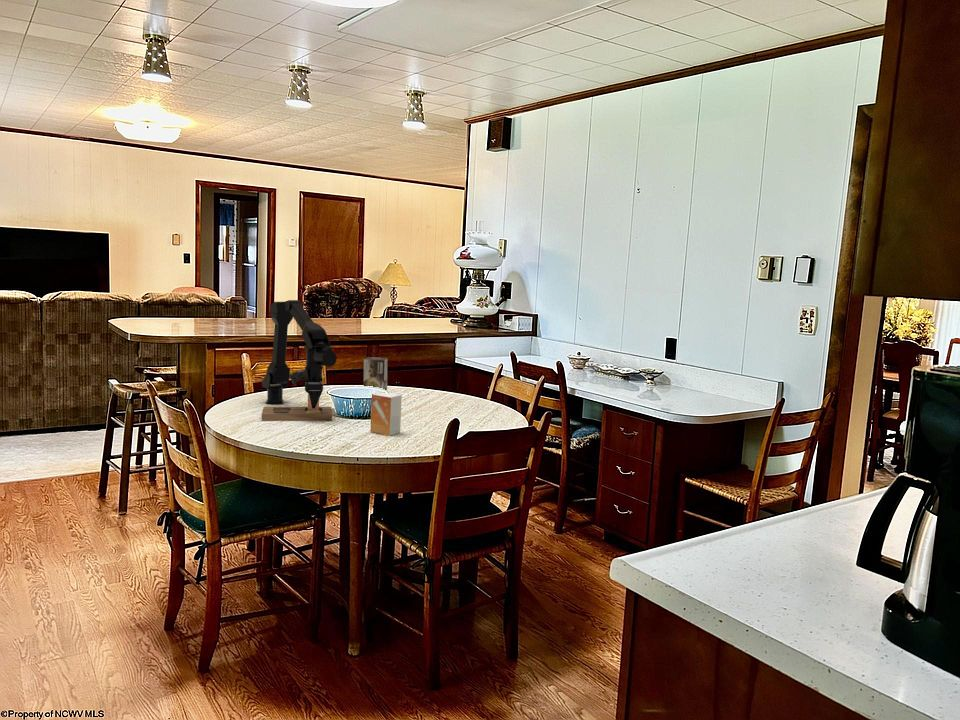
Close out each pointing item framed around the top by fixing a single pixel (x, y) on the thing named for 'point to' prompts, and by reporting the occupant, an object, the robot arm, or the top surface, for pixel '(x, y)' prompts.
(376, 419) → the small box
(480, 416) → the top surface
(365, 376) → the coffee box
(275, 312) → the robot arm
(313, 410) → the plug
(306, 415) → the socket board
